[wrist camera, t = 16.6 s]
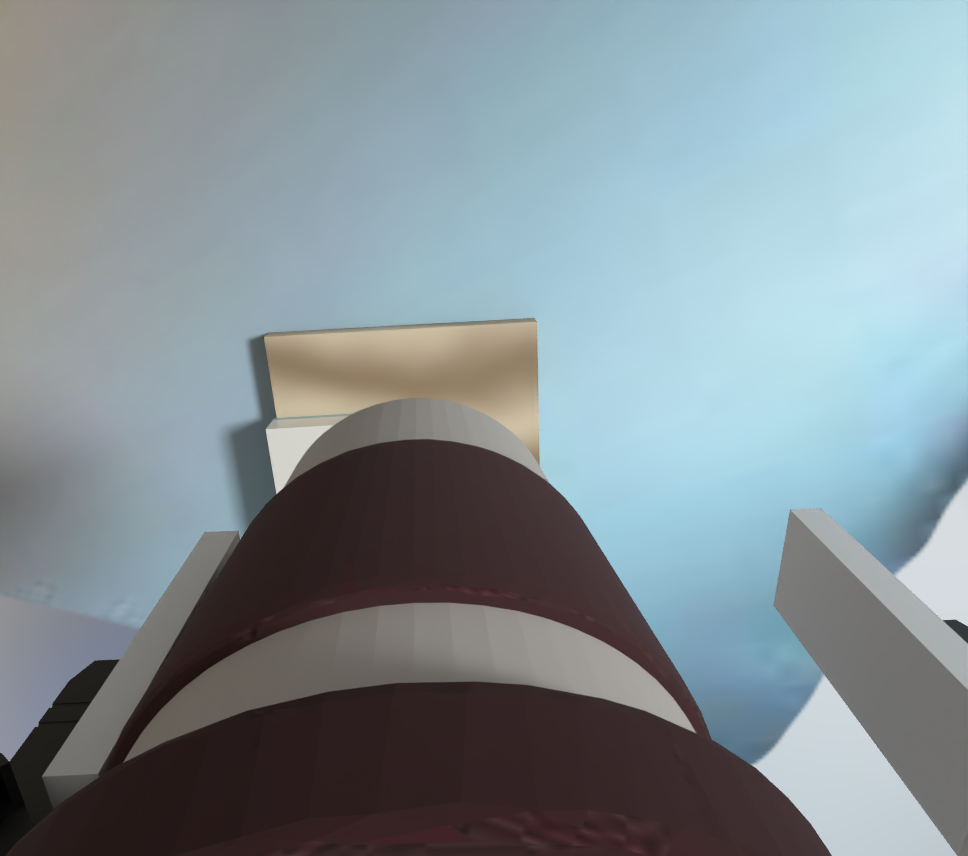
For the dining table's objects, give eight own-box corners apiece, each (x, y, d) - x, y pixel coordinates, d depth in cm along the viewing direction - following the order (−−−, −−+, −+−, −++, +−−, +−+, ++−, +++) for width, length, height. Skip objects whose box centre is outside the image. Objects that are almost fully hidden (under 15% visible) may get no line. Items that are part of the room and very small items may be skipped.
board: (268, 332, 40) (263, 337, 39) (534, 318, 41) (536, 321, 39) (309, 589, 46) (305, 600, 45) (539, 574, 47) (541, 583, 46)
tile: (438, 408, 41) (273, 418, 41) (438, 418, 39) (265, 429, 39) (448, 551, 44) (297, 561, 44) (448, 567, 42) (290, 578, 42)
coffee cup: (281, 678, 20) (-10, 1785, 6) (193, 369, 17) (-935, 1405, 3) (600, 630, 21) (969, 1565, 7) (583, 318, 17) (1304, 982, 3)
